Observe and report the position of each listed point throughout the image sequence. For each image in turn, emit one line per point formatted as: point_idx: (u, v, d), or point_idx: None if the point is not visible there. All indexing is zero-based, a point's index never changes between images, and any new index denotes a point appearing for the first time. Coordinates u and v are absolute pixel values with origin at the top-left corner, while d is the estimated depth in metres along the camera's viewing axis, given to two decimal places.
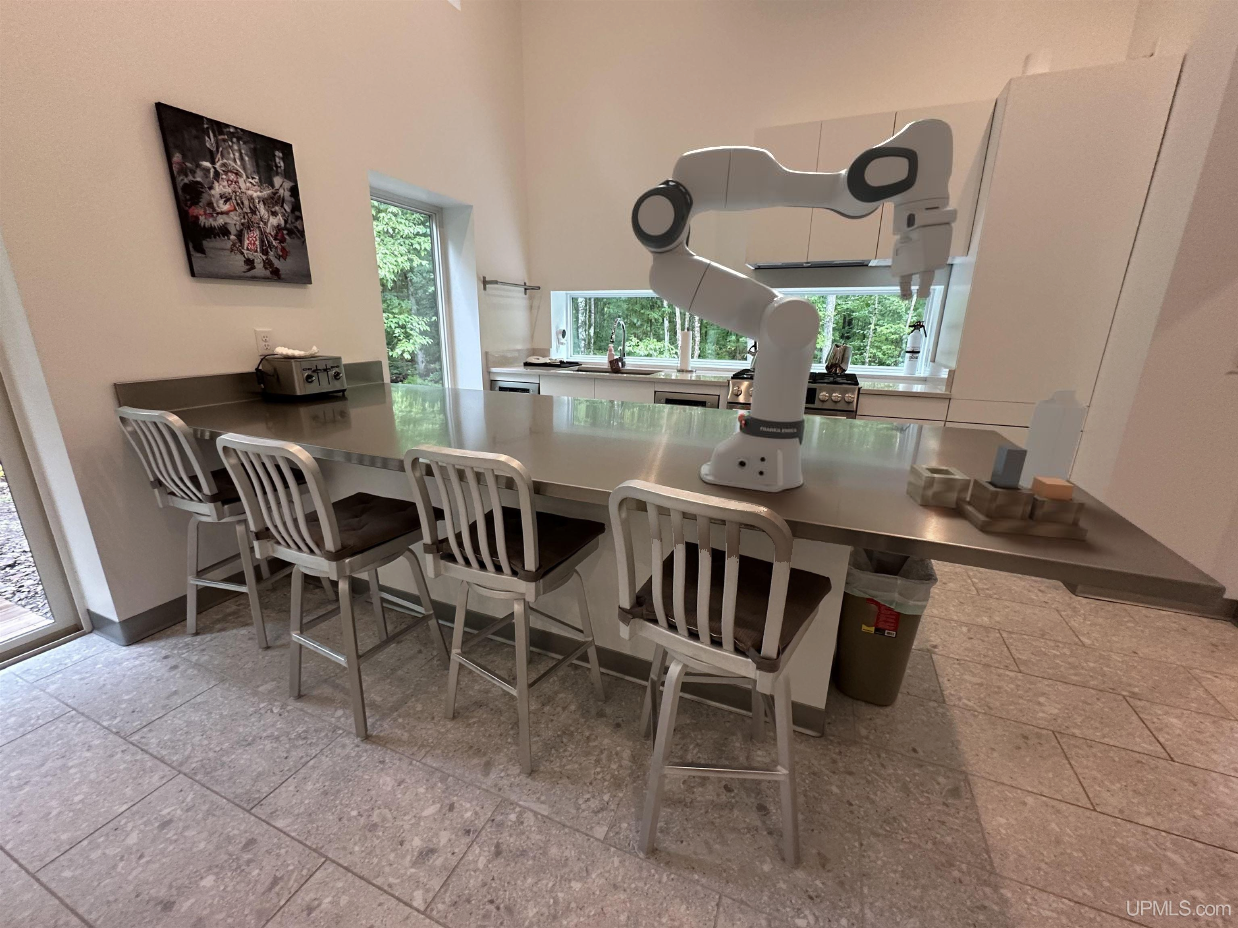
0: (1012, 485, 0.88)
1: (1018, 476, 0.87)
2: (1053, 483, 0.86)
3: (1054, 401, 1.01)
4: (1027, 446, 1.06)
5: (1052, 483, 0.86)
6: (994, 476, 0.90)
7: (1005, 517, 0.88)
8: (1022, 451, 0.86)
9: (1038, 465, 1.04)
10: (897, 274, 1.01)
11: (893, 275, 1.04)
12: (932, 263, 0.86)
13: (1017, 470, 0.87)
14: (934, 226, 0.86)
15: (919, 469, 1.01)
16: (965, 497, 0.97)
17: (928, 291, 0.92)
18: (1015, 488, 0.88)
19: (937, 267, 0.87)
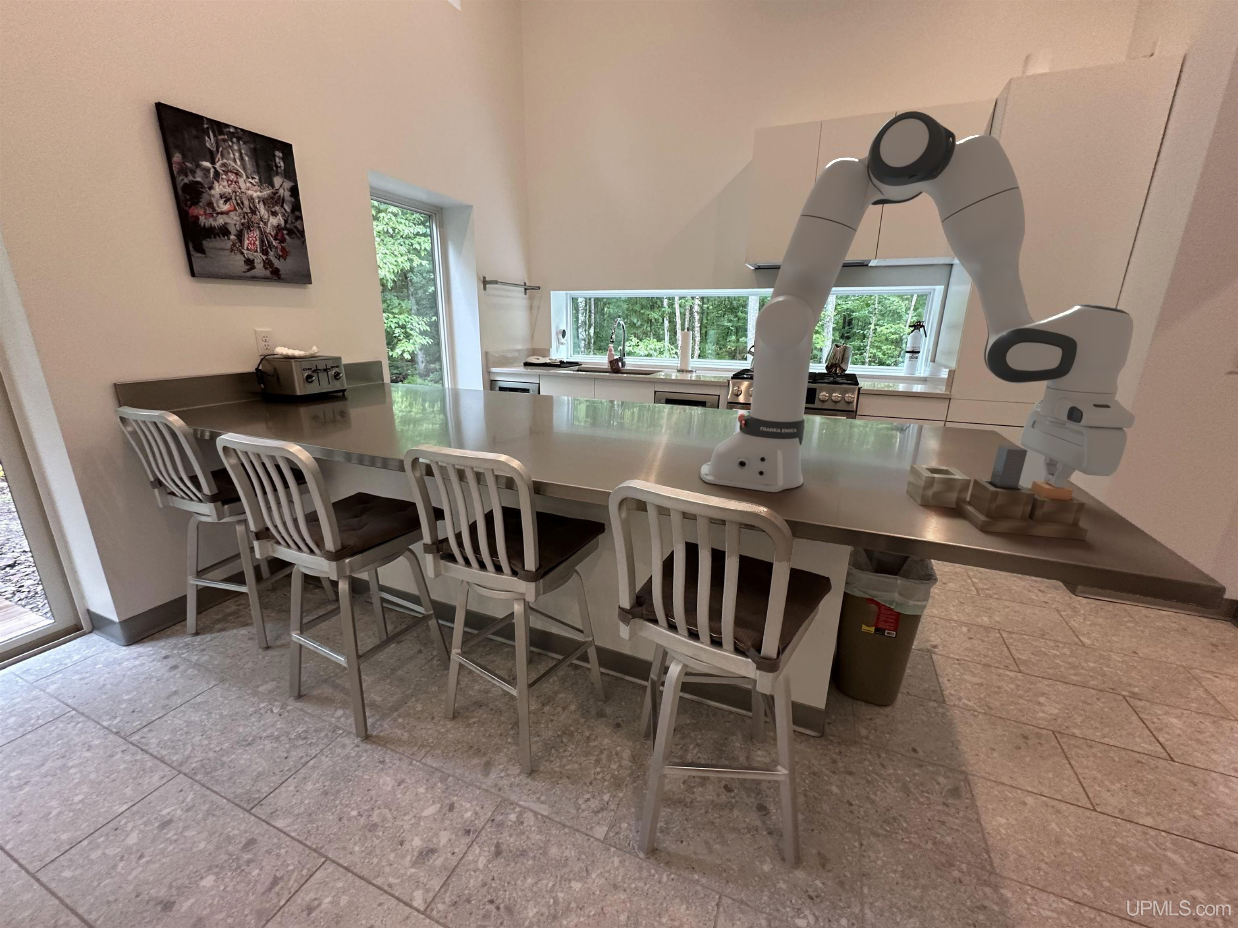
0: (1012, 485, 0.88)
1: (1018, 476, 0.87)
2: (1052, 487, 0.87)
3: None
4: None
5: (1051, 487, 0.87)
6: (994, 476, 0.90)
7: (1005, 517, 0.88)
8: (1022, 451, 0.86)
9: (1038, 465, 1.04)
10: (1032, 449, 0.92)
11: (1024, 445, 0.94)
12: (1098, 470, 0.77)
13: (1017, 470, 0.87)
14: (1104, 429, 0.77)
15: (919, 469, 1.01)
16: (965, 497, 0.97)
17: (1064, 481, 0.86)
18: (1015, 488, 0.88)
19: (1102, 474, 0.77)
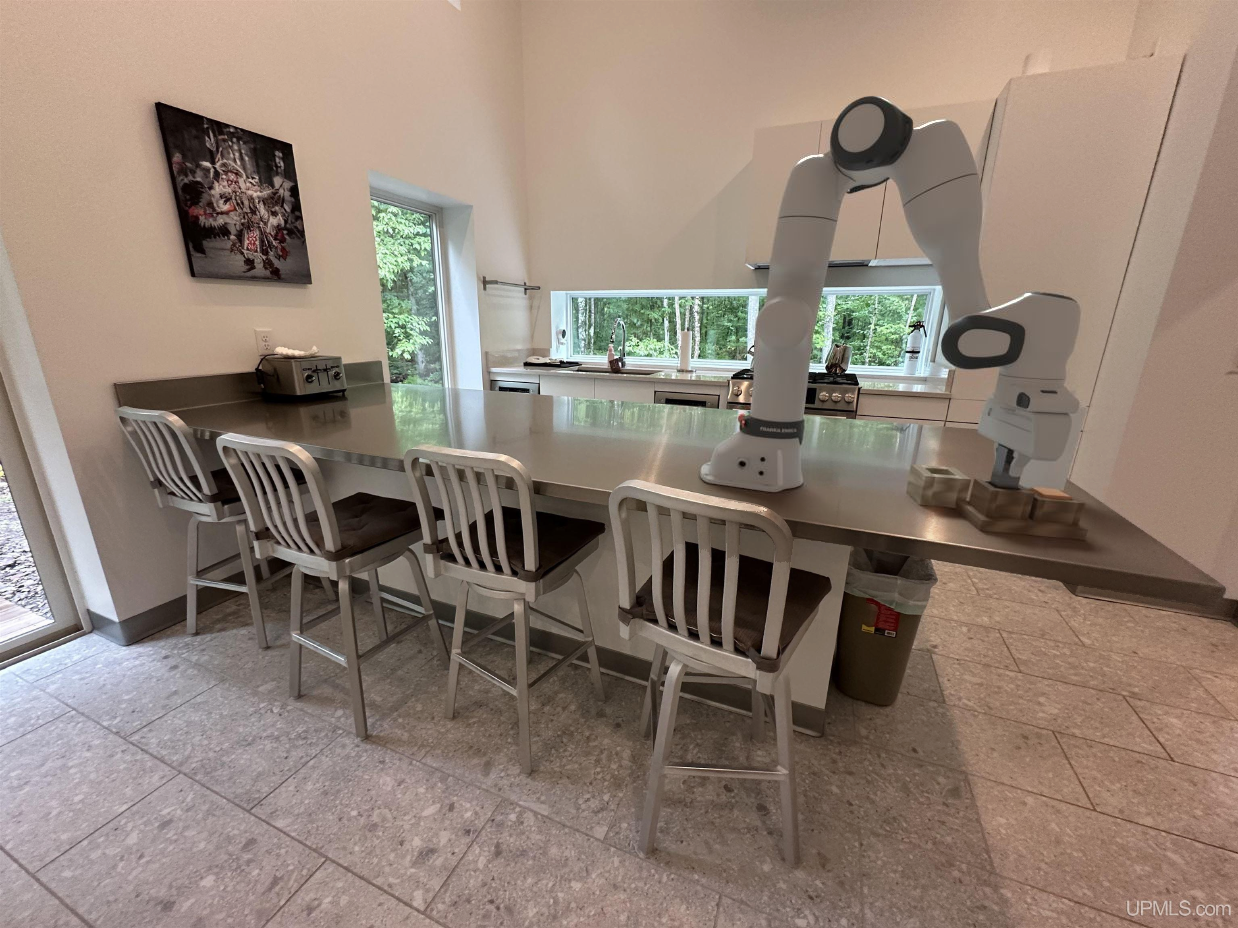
0: (1012, 485, 0.88)
1: None
2: (1050, 494, 0.87)
3: None
4: None
5: (1049, 494, 0.87)
6: (994, 476, 0.90)
7: (1005, 517, 0.88)
8: None
9: (1038, 465, 1.04)
10: (988, 436, 0.92)
11: (981, 433, 0.95)
12: (1044, 455, 0.78)
13: None
14: (1051, 414, 0.77)
15: (919, 469, 1.01)
16: (965, 497, 0.97)
17: (1021, 470, 0.86)
18: (1015, 488, 0.88)
19: (1048, 459, 0.78)
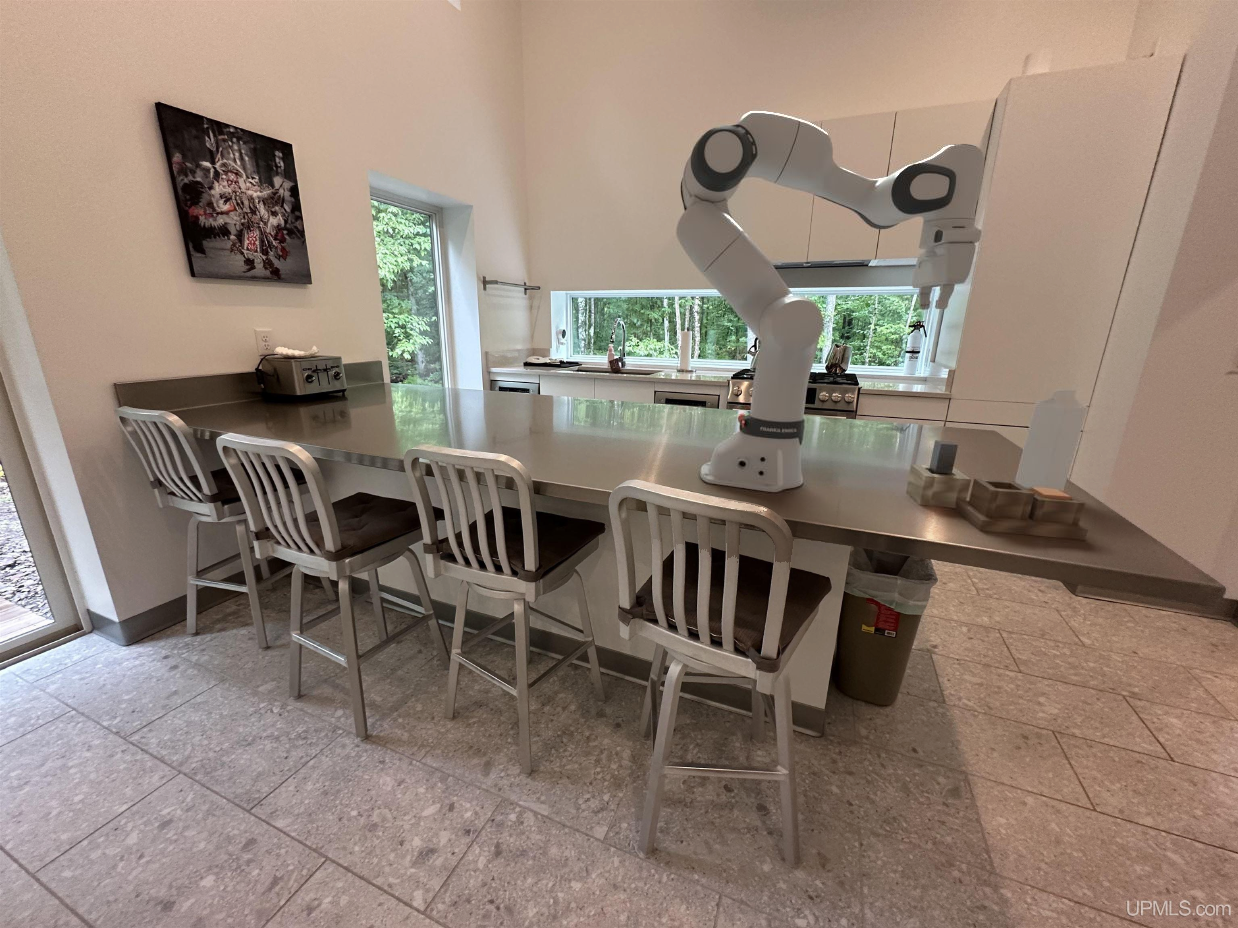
0: None
1: (951, 468, 0.98)
2: (1050, 494, 0.87)
3: (1054, 401, 1.01)
4: (1027, 446, 1.06)
5: (1049, 494, 0.87)
6: (931, 468, 1.01)
7: (1005, 517, 0.88)
8: (953, 445, 0.97)
9: (1038, 465, 1.04)
10: (918, 285, 1.09)
11: (914, 286, 1.12)
12: (953, 277, 0.95)
13: (950, 462, 0.98)
14: (959, 243, 0.95)
15: (919, 469, 1.01)
16: (965, 497, 0.97)
17: (946, 303, 1.00)
18: None
19: (958, 281, 0.95)
